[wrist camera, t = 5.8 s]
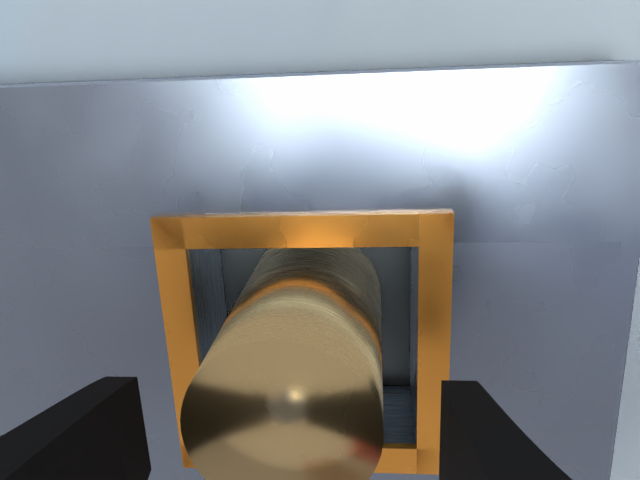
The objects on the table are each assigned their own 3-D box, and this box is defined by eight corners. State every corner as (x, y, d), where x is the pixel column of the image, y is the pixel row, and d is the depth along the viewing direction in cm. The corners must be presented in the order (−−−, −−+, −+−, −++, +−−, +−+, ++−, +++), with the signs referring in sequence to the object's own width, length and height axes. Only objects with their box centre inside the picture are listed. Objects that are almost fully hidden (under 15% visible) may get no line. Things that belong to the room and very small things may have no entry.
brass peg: (374, 357, 16) (374, 526, 10) (249, 346, 16) (182, 503, 11) (386, 237, 15) (393, 350, 9) (252, 226, 15) (178, 330, 9)
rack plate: (566, 494, 17) (601, 573, 14) (-48, 476, 19) (-115, 543, 16) (613, 59, 13) (670, 61, 11) (-156, 90, 15) (-266, 98, 12)
